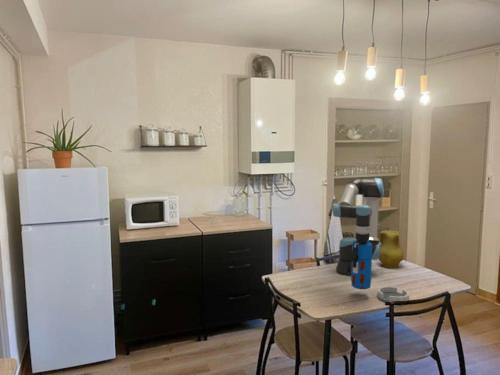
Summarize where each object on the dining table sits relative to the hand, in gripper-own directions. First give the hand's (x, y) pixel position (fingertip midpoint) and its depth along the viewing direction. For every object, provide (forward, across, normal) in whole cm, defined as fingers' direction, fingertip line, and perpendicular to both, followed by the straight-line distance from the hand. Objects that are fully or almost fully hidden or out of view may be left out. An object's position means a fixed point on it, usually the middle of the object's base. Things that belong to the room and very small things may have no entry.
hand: (361, 270), depth 220 cm
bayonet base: (+15, +10, -14) cm, 23 cm away
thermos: (+9, 0, 0) cm, 9 cm away
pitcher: (+17, +65, +19) cm, 70 cm away
